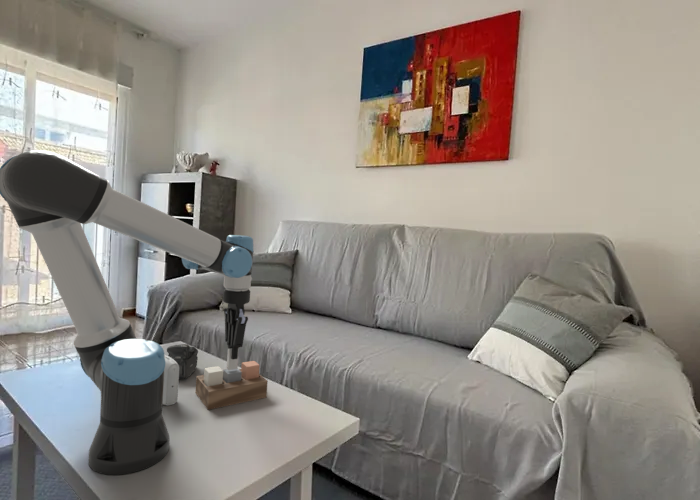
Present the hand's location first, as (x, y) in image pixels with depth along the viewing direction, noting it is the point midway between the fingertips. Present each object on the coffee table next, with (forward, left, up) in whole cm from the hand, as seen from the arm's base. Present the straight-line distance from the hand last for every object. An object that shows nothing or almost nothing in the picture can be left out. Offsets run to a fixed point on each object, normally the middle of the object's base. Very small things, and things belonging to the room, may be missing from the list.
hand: (231, 368), depth 116 cm
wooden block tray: (0, 0, -8) cm, 8 cm away
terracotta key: (0, -6, -4) cm, 7 cm away
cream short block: (0, +5, -4) cm, 7 cm away
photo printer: (+6, +17, -8) cm, 20 cm away
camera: (+23, +8, -8) cm, 26 cm away
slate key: (0, 0, -6) cm, 6 cm away
